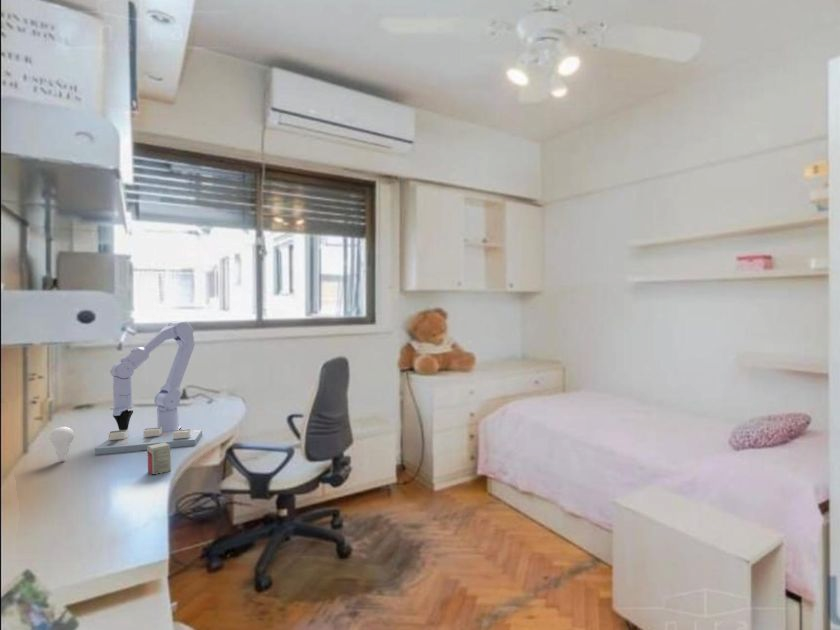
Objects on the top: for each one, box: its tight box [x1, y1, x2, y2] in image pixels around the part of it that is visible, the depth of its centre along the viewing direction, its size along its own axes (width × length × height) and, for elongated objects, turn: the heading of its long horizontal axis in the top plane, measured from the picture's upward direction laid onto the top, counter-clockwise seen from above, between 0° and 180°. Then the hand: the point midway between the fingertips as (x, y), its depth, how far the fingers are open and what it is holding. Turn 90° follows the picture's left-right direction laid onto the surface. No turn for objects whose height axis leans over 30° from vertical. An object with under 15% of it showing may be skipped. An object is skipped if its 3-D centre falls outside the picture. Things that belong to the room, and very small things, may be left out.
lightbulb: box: [49, 426, 75, 462], centre depth 148 cm, size 6×6×11 cm
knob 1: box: [108, 429, 129, 440], centre depth 166 cm, size 4×5×2 cm
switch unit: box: [94, 429, 203, 456], centre depth 166 cm, size 15×30×2 cm, turn 107°
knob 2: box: [143, 426, 162, 437], centre depth 170 cm, size 4×5×2 cm
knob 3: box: [173, 428, 192, 439], centre depth 166 cm, size 4×5×2 cm
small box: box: [146, 443, 172, 475], centre depth 136 cm, size 5×4×8 cm
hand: (123, 431), depth 172 cm, fingers closed
